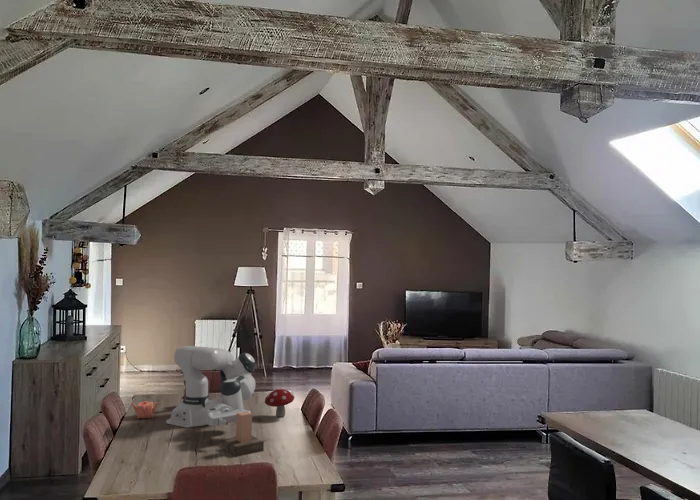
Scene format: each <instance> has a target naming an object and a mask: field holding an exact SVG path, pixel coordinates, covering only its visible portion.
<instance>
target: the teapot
mask: <svg viewBox="0 0 700 500" xmlns="http://www.w3.org/2000/svg"><path fill="white" fill-rule="evenodd" d="M159 404H160V402H156V403H155V404H154V401H147V400H144V401H139V402H138V403H137V406H136V404H135V403H130V405H132V407H133V410H134V412H135V413H136V419H139V418H142V419H152V417H153V415H154V412H156V411H157V406H158V405H159Z"/></svg>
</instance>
